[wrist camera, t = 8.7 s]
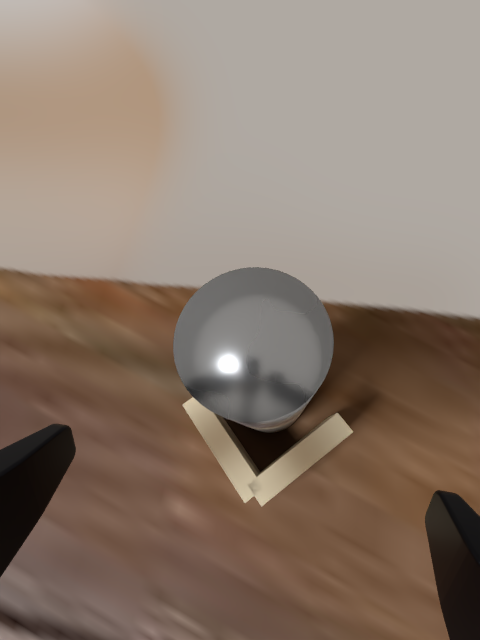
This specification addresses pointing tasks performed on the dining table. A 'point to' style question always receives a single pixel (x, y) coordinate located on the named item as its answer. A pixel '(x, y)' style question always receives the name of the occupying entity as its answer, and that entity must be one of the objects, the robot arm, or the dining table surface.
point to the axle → (254, 347)
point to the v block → (279, 470)
